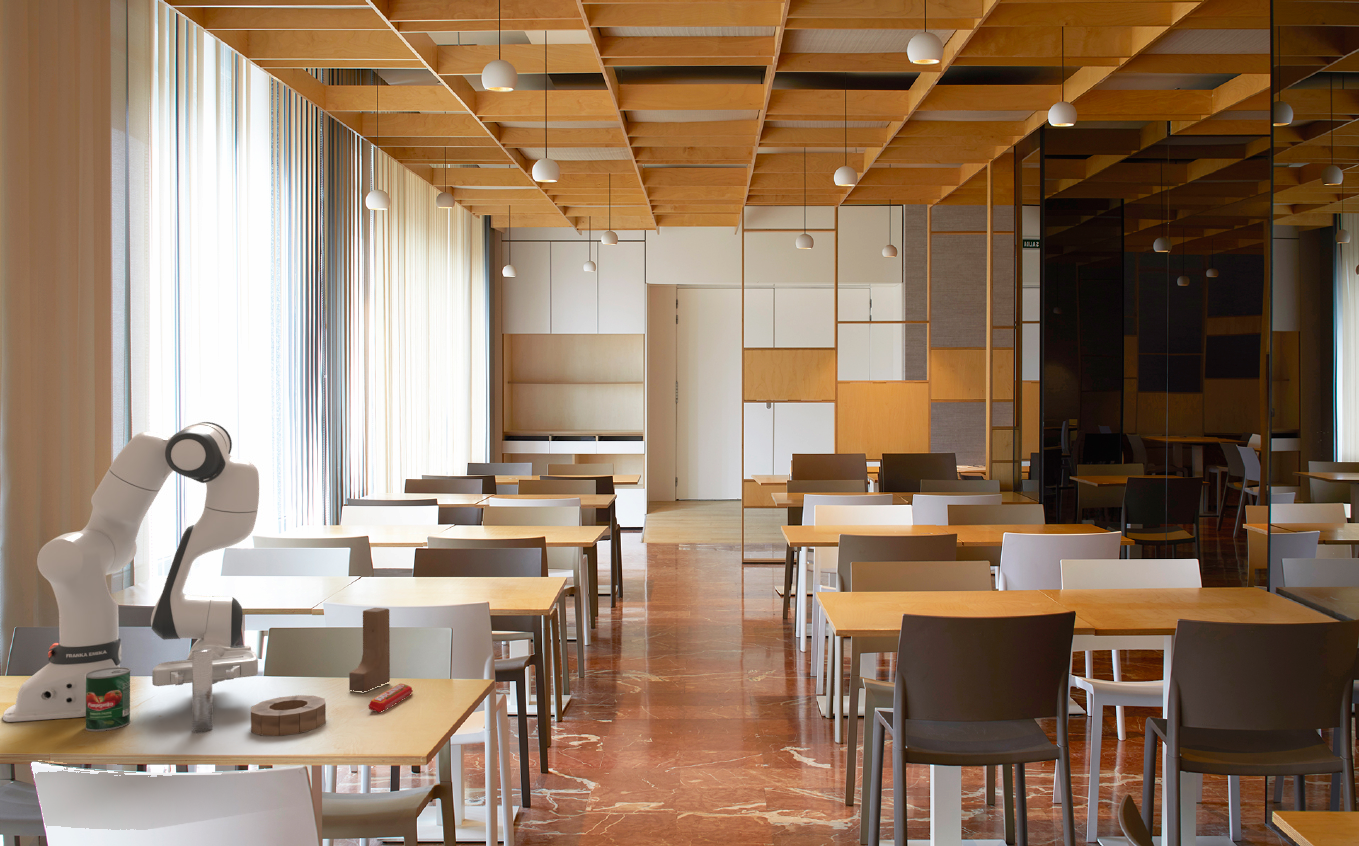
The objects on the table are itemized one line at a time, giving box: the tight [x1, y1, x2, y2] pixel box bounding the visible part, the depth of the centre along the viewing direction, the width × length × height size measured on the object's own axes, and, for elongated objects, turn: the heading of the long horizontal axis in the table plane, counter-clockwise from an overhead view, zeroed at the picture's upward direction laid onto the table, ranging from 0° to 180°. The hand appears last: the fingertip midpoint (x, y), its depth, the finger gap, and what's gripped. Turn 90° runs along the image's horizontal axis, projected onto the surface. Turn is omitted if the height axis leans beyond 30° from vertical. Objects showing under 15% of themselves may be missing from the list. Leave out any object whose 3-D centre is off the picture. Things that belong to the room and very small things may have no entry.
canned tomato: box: [84, 666, 131, 732], centre depth 190 cm, size 8×8×11 cm
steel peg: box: [191, 649, 213, 734], centre depth 186 cm, size 4×4×16 cm
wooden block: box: [348, 607, 391, 692], centre depth 217 cm, size 9×4×18 cm, turn 157°
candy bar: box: [367, 683, 414, 713], centre depth 204 cm, size 16×4×3 cm, turn 170°
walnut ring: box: [250, 694, 327, 737], centre depth 189 cm, size 14×14×4 cm
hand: (204, 678), depth 192 cm, fingers open, 8 cm apart
